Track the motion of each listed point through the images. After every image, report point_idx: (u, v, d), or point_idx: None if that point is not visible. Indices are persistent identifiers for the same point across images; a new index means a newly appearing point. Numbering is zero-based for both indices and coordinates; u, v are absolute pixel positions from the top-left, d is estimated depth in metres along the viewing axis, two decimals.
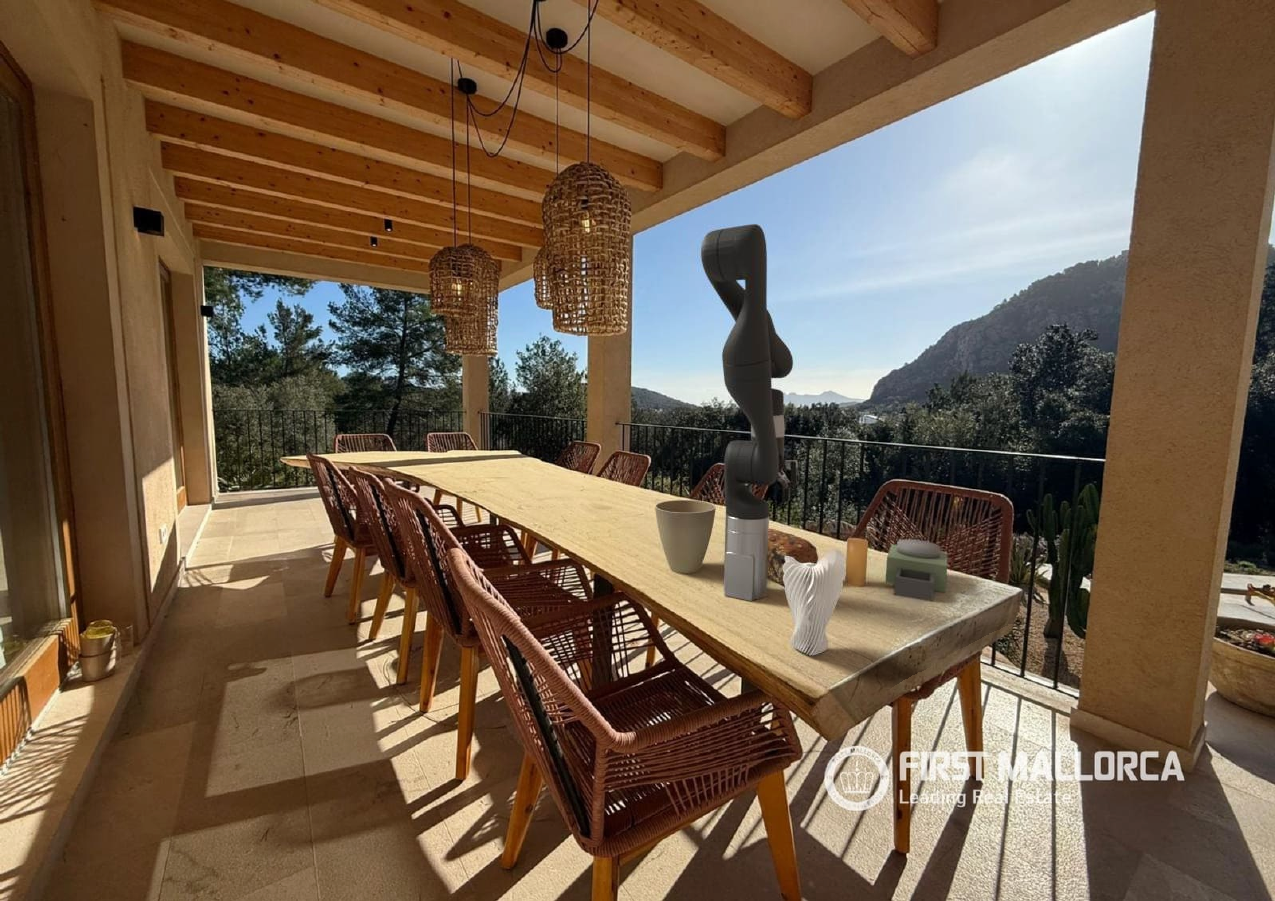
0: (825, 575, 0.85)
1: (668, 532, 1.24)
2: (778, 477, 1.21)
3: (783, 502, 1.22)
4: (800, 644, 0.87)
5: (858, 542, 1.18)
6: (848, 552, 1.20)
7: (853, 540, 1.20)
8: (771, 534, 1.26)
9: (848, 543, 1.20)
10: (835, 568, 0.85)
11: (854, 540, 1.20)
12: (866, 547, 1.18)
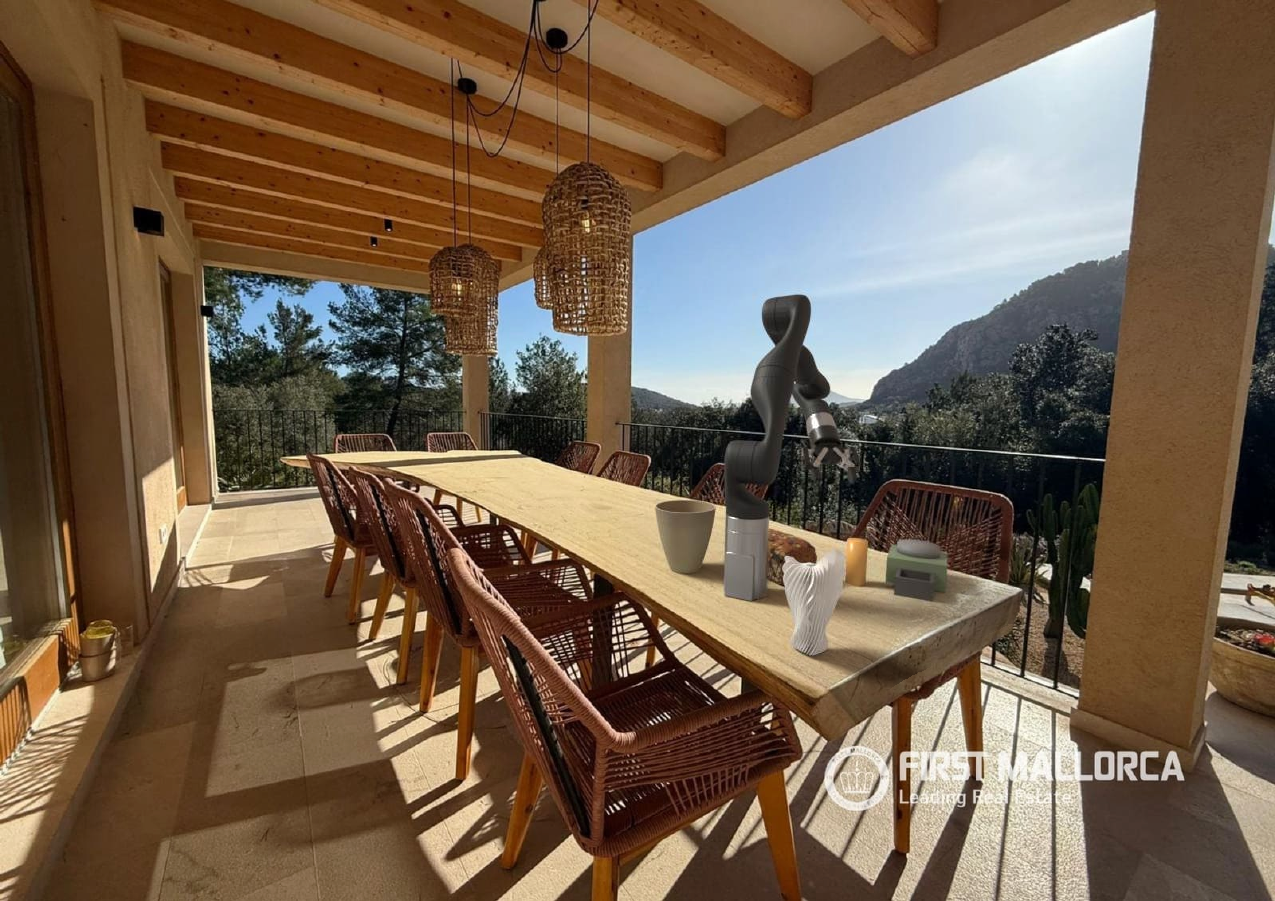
0: (825, 575, 0.85)
1: (668, 532, 1.24)
2: (844, 457, 1.35)
3: (853, 477, 1.32)
4: (800, 644, 0.87)
5: (858, 542, 1.18)
6: (848, 552, 1.20)
7: (853, 540, 1.20)
8: (770, 534, 1.26)
9: (848, 543, 1.20)
10: (835, 568, 0.85)
11: (854, 540, 1.20)
12: (866, 547, 1.18)
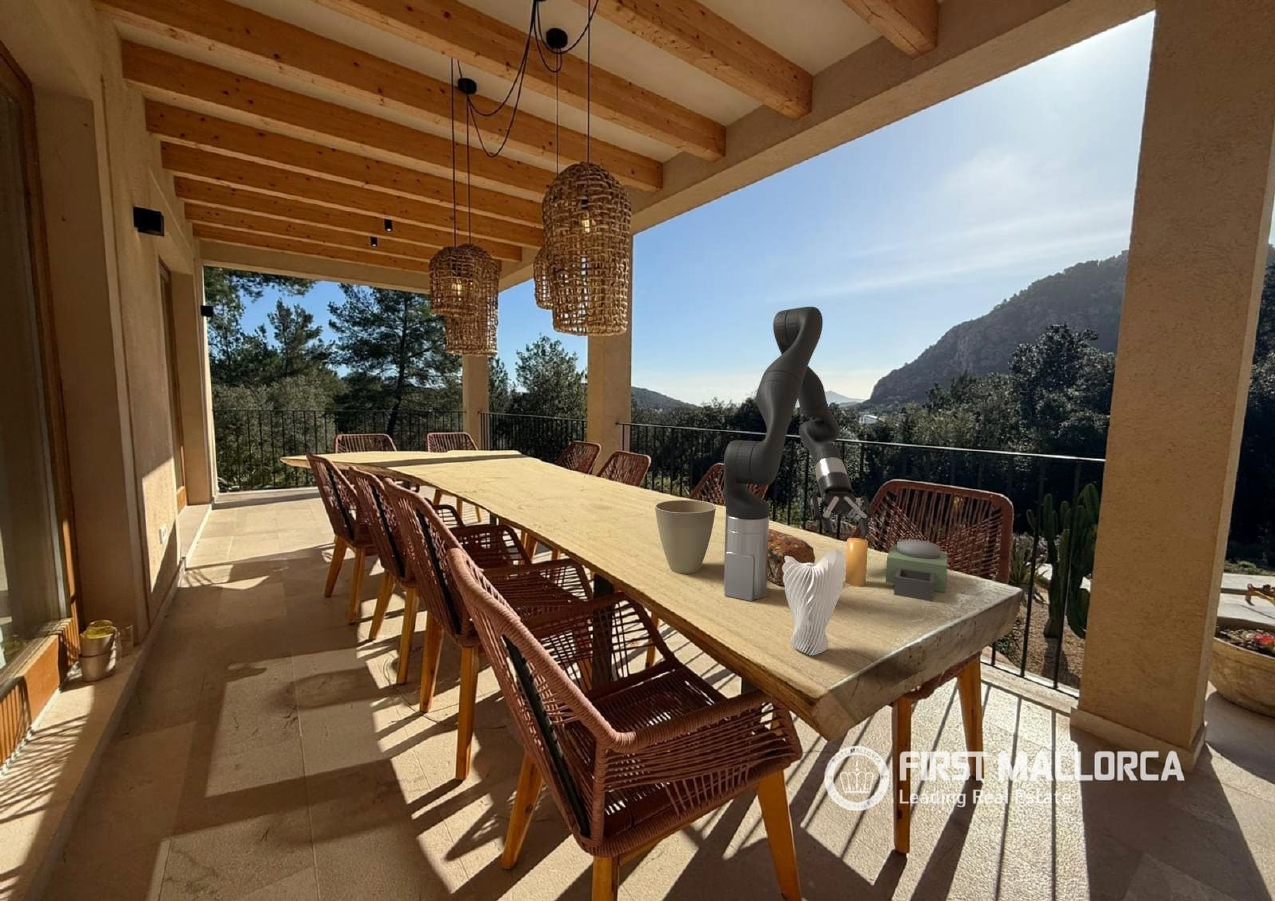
0: (825, 575, 0.85)
1: (668, 532, 1.24)
2: (856, 507, 1.28)
3: (866, 530, 1.25)
4: (800, 644, 0.87)
5: (858, 542, 1.18)
6: (848, 552, 1.20)
7: (853, 540, 1.20)
8: (768, 534, 1.26)
9: (848, 543, 1.20)
10: (835, 568, 0.85)
11: (854, 540, 1.20)
12: (866, 547, 1.18)
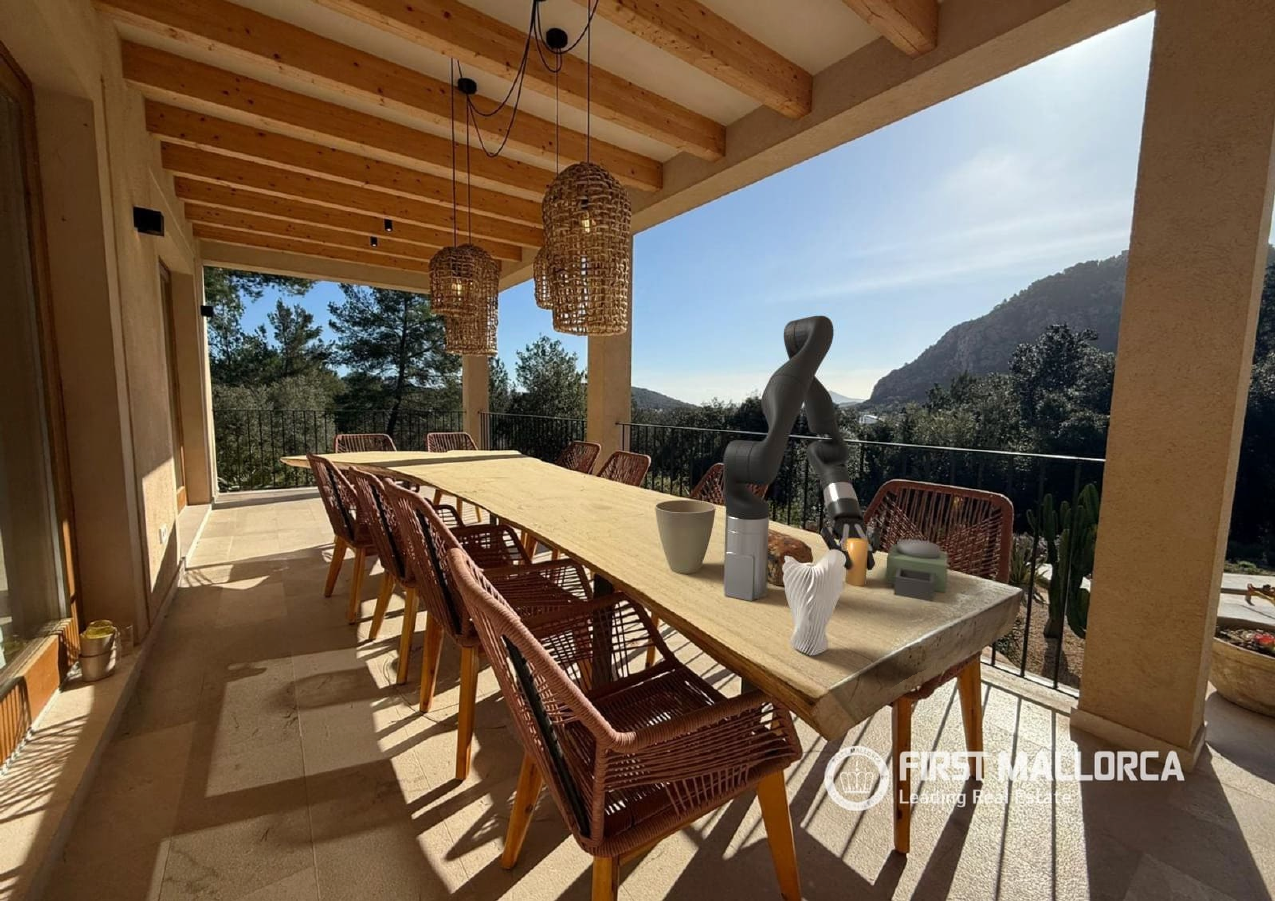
0: (825, 575, 0.85)
1: (668, 532, 1.24)
2: (863, 538, 1.22)
3: (871, 564, 1.18)
4: (800, 644, 0.87)
5: (858, 542, 1.18)
6: (848, 552, 1.20)
7: (853, 540, 1.20)
8: None
9: (848, 543, 1.20)
10: (835, 568, 0.85)
11: (854, 540, 1.20)
12: (866, 547, 1.18)
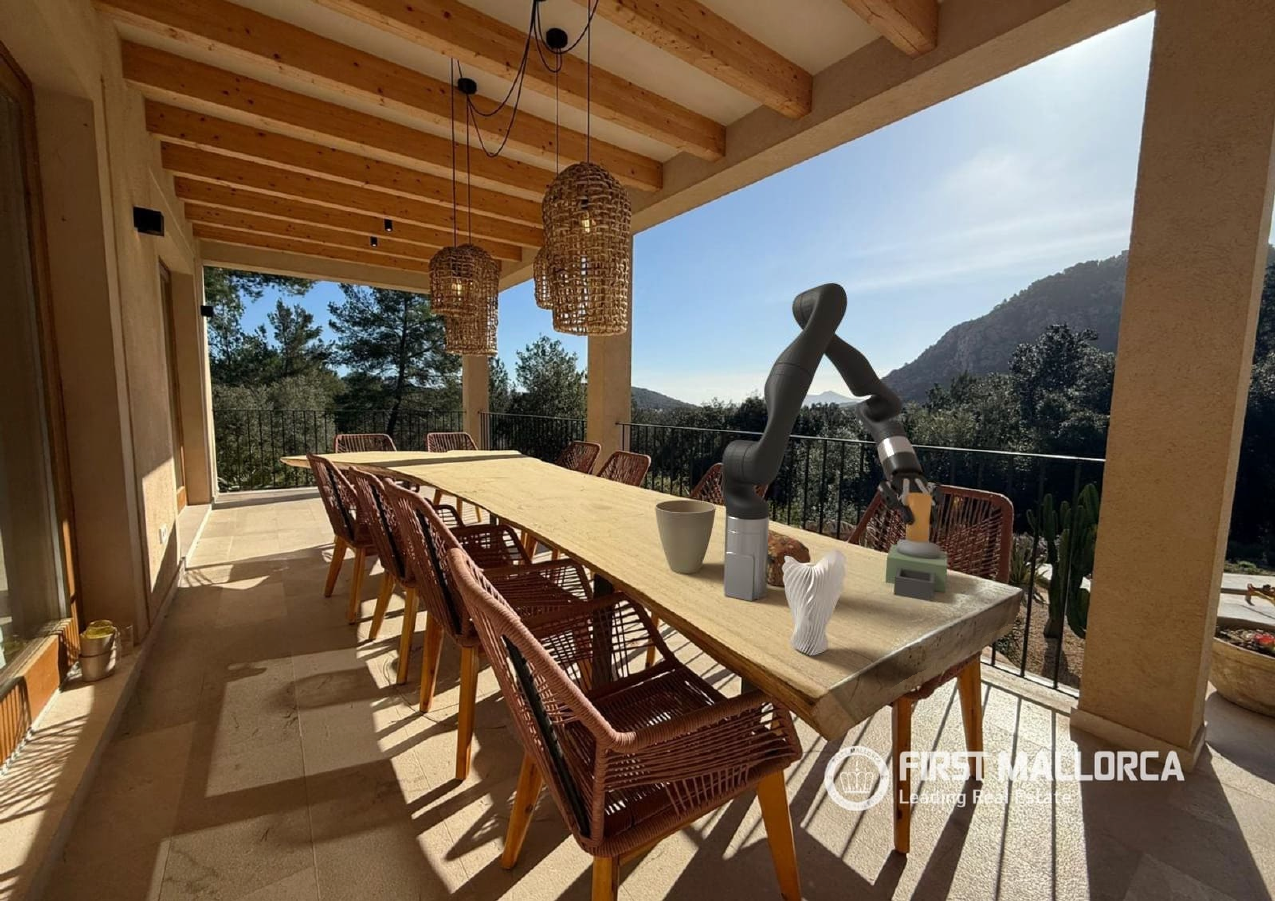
0: (825, 575, 0.85)
1: (668, 532, 1.24)
2: (925, 492, 1.15)
3: (935, 519, 1.11)
4: (800, 644, 0.87)
5: (921, 495, 1.12)
6: (910, 507, 1.13)
7: (915, 494, 1.13)
8: None
9: (910, 497, 1.13)
10: (835, 568, 0.85)
11: (916, 494, 1.13)
12: (930, 501, 1.11)
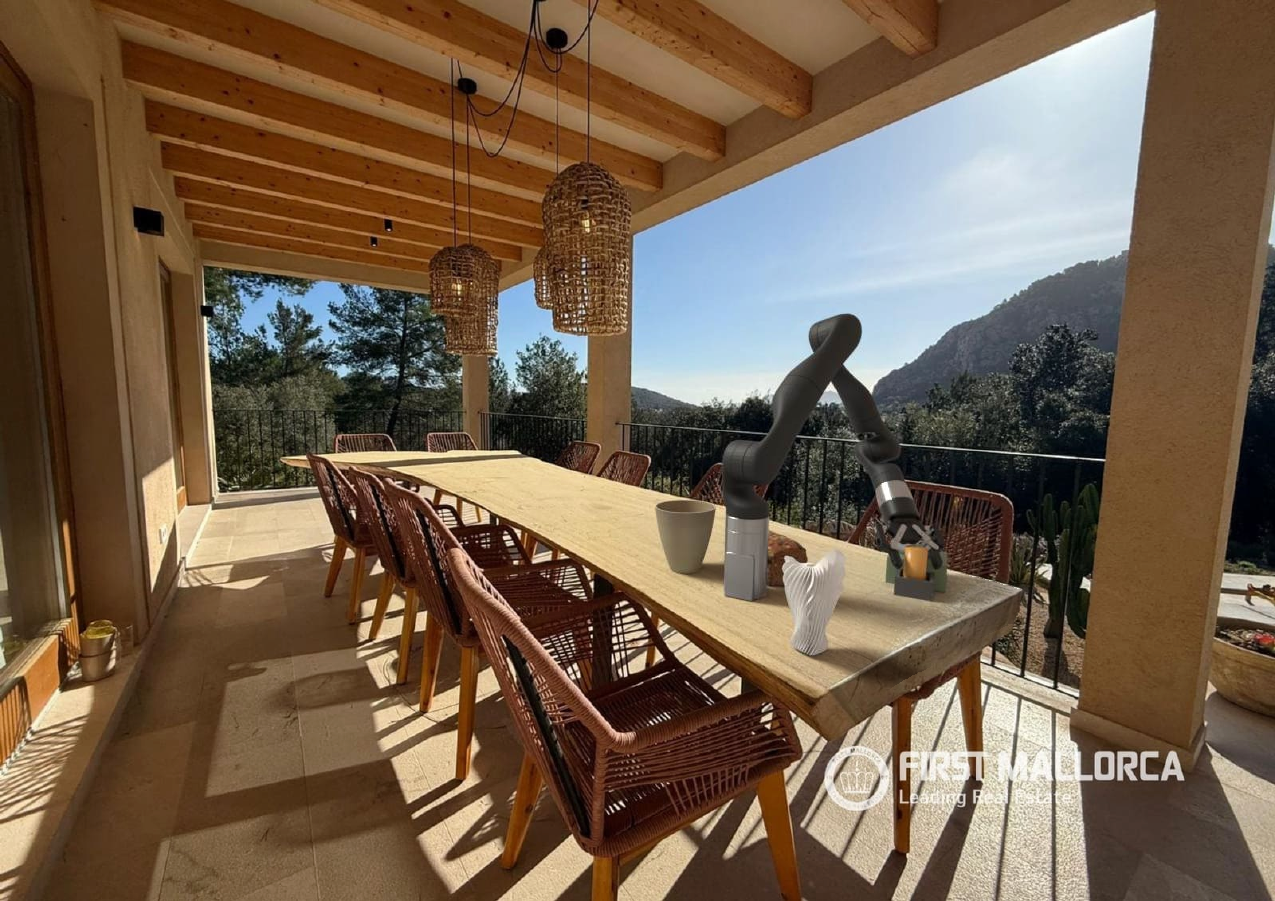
0: (825, 575, 0.85)
1: (668, 532, 1.24)
2: (926, 537, 1.16)
3: (939, 563, 1.13)
4: (800, 644, 0.87)
5: (917, 550, 1.13)
6: (906, 560, 1.14)
7: (911, 548, 1.14)
8: None
9: (906, 551, 1.14)
10: (835, 568, 0.85)
11: (912, 548, 1.14)
12: (926, 555, 1.13)
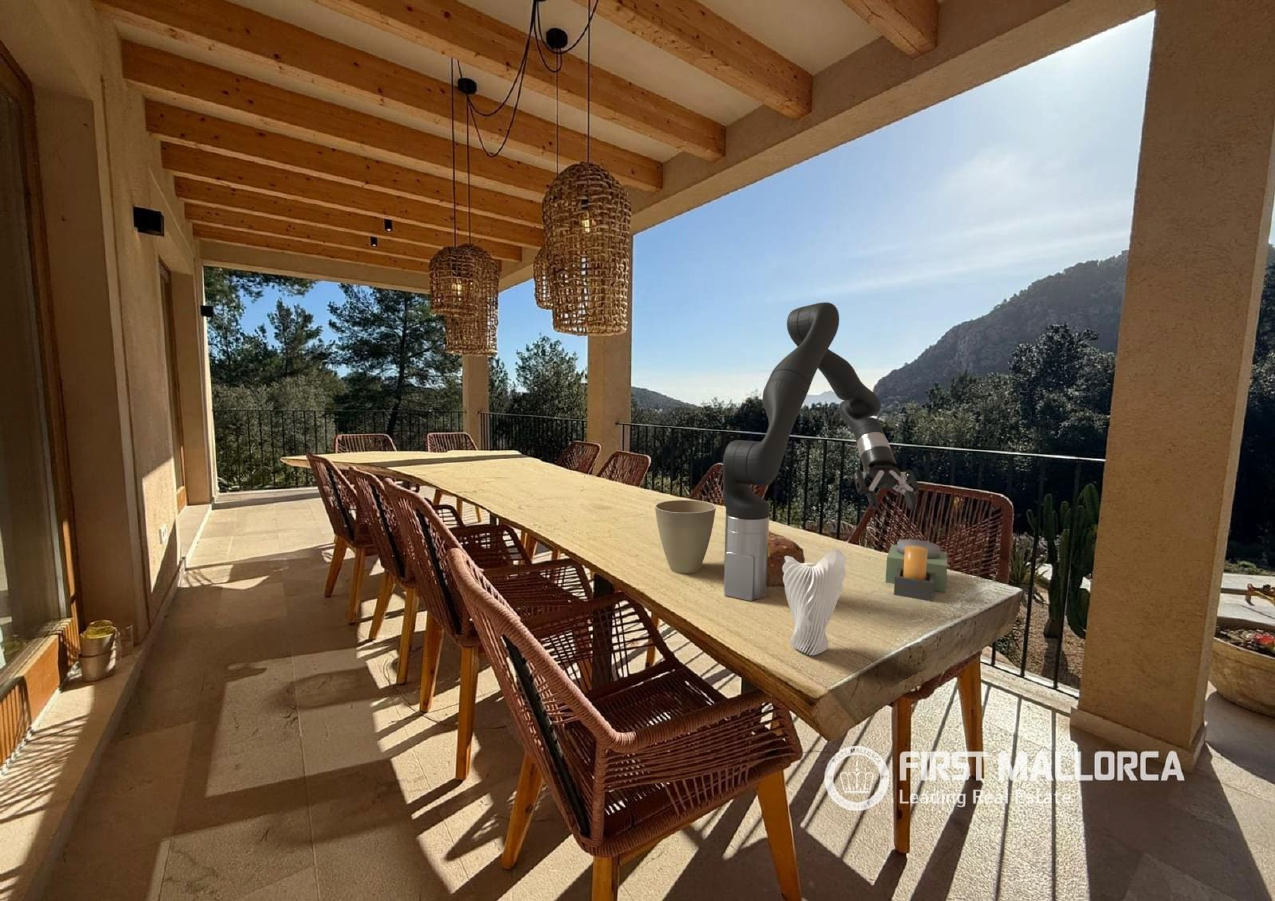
0: (825, 575, 0.85)
1: (668, 532, 1.24)
2: (902, 481, 1.27)
3: (913, 503, 1.24)
4: (800, 644, 0.87)
5: (917, 550, 1.13)
6: (906, 560, 1.14)
7: (911, 548, 1.14)
8: None
9: (906, 551, 1.14)
10: (835, 568, 0.85)
11: (912, 548, 1.14)
12: (926, 555, 1.13)
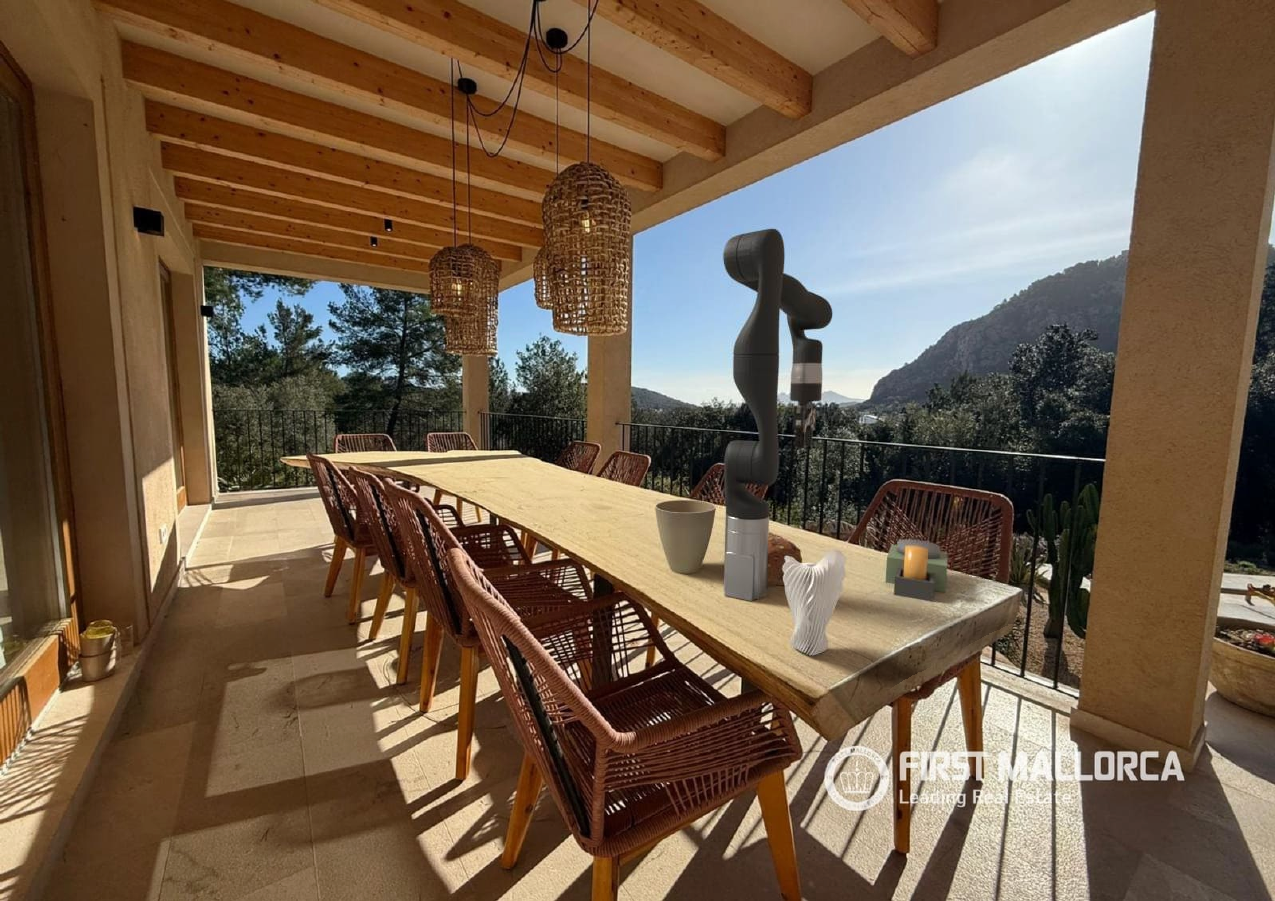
0: (825, 575, 0.85)
1: (668, 532, 1.24)
2: (814, 420, 1.34)
3: (811, 443, 1.36)
4: (800, 644, 0.87)
5: (918, 550, 1.13)
6: (907, 560, 1.14)
7: (912, 547, 1.14)
8: None
9: (907, 551, 1.14)
10: (835, 568, 0.85)
11: (913, 547, 1.14)
12: (926, 555, 1.13)
